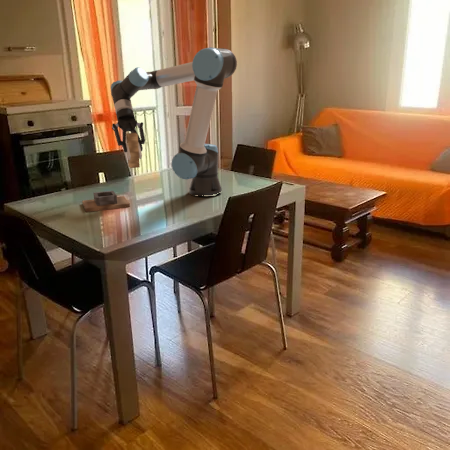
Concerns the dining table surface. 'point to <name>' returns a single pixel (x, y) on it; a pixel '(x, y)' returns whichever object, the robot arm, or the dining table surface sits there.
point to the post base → (105, 201)
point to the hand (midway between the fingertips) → (135, 157)
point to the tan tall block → (133, 150)
